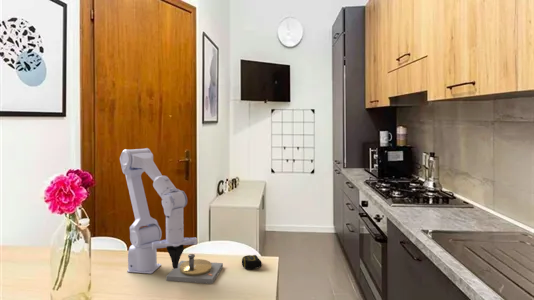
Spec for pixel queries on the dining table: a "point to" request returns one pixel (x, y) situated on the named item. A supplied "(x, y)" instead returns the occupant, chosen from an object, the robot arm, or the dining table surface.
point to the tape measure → (251, 262)
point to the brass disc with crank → (195, 266)
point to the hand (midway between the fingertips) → (175, 267)
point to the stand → (205, 278)
